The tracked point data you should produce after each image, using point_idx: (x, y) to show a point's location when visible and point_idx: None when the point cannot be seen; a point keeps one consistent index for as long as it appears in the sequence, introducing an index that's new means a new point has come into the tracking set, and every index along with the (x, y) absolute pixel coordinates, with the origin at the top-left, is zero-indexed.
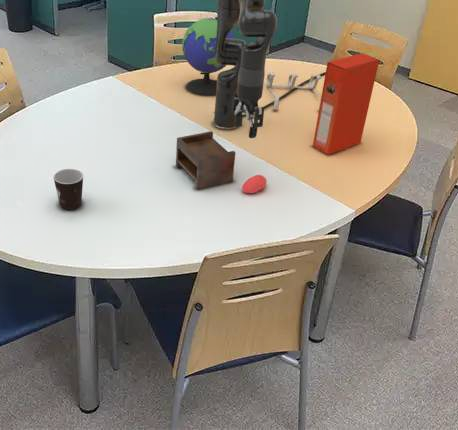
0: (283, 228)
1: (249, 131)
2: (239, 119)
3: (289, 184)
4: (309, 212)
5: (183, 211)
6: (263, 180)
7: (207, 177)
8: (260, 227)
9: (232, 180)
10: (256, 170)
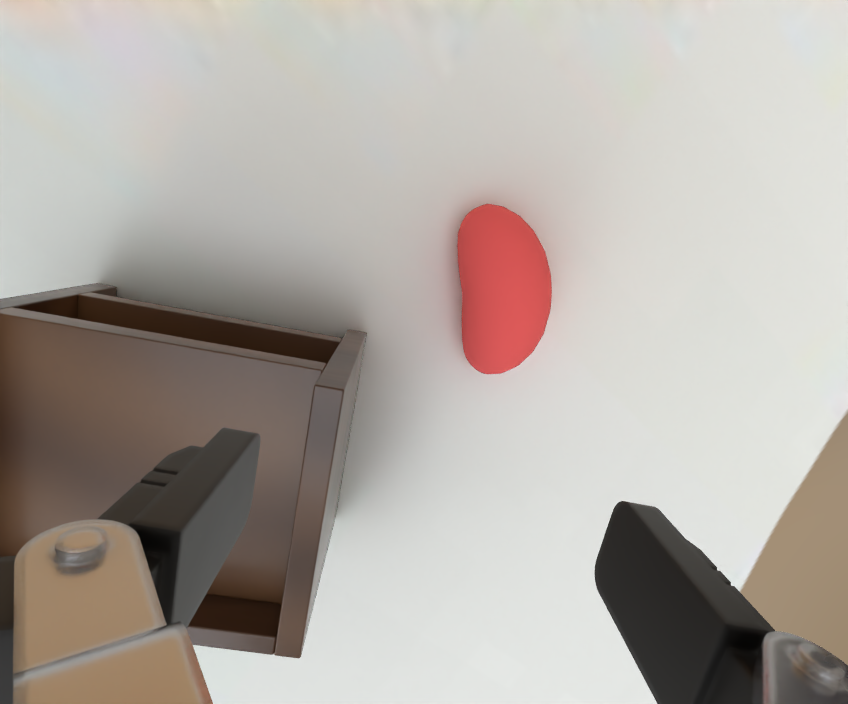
0: (797, 400)
1: (637, 656)
2: (211, 541)
3: (572, 67)
4: (814, 197)
5: (439, 649)
6: (544, 267)
7: (334, 506)
8: (723, 475)
9: (366, 335)
10: (340, 121)
